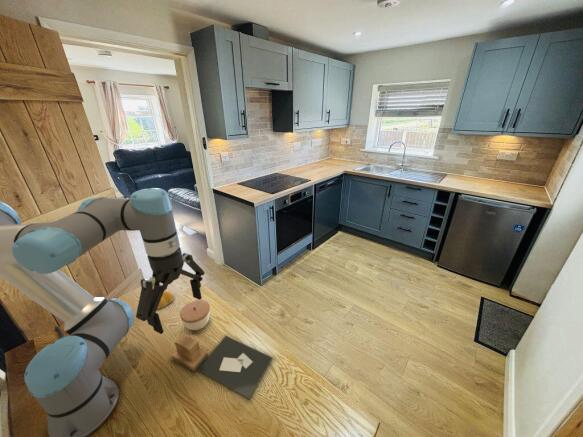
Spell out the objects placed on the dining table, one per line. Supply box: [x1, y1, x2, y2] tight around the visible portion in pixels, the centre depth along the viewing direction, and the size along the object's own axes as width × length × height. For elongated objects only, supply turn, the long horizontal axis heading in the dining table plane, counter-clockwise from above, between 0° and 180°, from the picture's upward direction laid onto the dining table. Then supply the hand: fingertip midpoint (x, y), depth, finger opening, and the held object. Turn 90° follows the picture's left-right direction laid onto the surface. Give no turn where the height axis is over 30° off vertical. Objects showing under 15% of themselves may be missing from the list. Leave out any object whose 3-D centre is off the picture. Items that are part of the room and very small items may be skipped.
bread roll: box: [157, 290, 174, 310], centre depth 104 cm, size 8×9×4 cm
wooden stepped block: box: [171, 333, 209, 373], centre depth 80 cm, size 10×6×8 cm, turn 65°
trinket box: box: [179, 299, 211, 331], centre depth 93 cm, size 11×11×9 cm
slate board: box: [197, 335, 273, 400], centre depth 79 cm, size 20×14×1 cm
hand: (179, 313), depth 68 cm, fingers open, 13 cm apart
